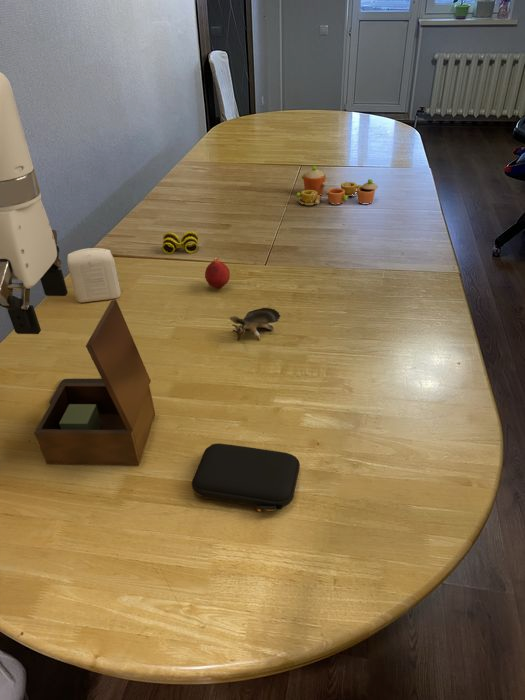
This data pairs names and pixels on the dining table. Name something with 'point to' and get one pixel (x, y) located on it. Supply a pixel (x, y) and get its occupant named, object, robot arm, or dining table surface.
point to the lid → (119, 364)
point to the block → (81, 417)
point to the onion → (217, 274)
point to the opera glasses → (174, 242)
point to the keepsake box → (93, 444)
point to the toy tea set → (333, 189)
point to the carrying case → (247, 476)
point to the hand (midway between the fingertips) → (43, 312)
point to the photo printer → (93, 274)
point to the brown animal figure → (255, 321)
